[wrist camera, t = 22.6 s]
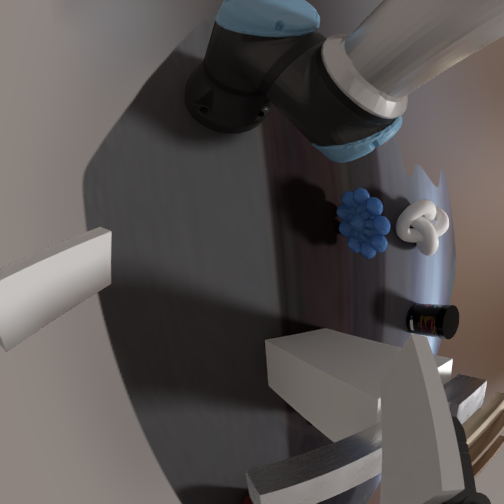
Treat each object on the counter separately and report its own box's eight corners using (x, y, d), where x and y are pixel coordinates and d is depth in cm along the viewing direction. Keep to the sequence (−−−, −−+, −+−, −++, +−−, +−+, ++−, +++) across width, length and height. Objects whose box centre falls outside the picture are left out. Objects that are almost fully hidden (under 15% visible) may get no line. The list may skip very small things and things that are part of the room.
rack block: (264, 339, 43) (378, 398, 19) (325, 328, 47) (452, 358, 22) (268, 385, 43) (369, 469, 18) (326, 370, 46) (442, 422, 21)
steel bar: (245, 469, 15) (265, 504, 11) (459, 374, 22) (487, 380, 19) (249, 495, 15) (268, 529, 11) (455, 397, 22) (482, 404, 18)
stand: (316, 378, 45) (470, 454, 15) (376, 359, 50) (519, 396, 19) (317, 424, 45) (445, 512, 14) (374, 402, 49) (500, 453, 19)
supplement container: (425, 323, 55) (460, 327, 45) (408, 339, 53) (445, 346, 43) (419, 297, 55) (456, 298, 45) (402, 312, 53) (440, 316, 43)
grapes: (364, 257, 50) (411, 251, 39) (335, 263, 48) (382, 258, 37) (353, 195, 51) (397, 177, 39) (323, 197, 49) (366, 177, 37)
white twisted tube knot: (428, 251, 57) (458, 247, 48) (397, 263, 53) (430, 261, 45) (418, 203, 57) (447, 194, 49) (385, 209, 53) (417, 199, 45)
